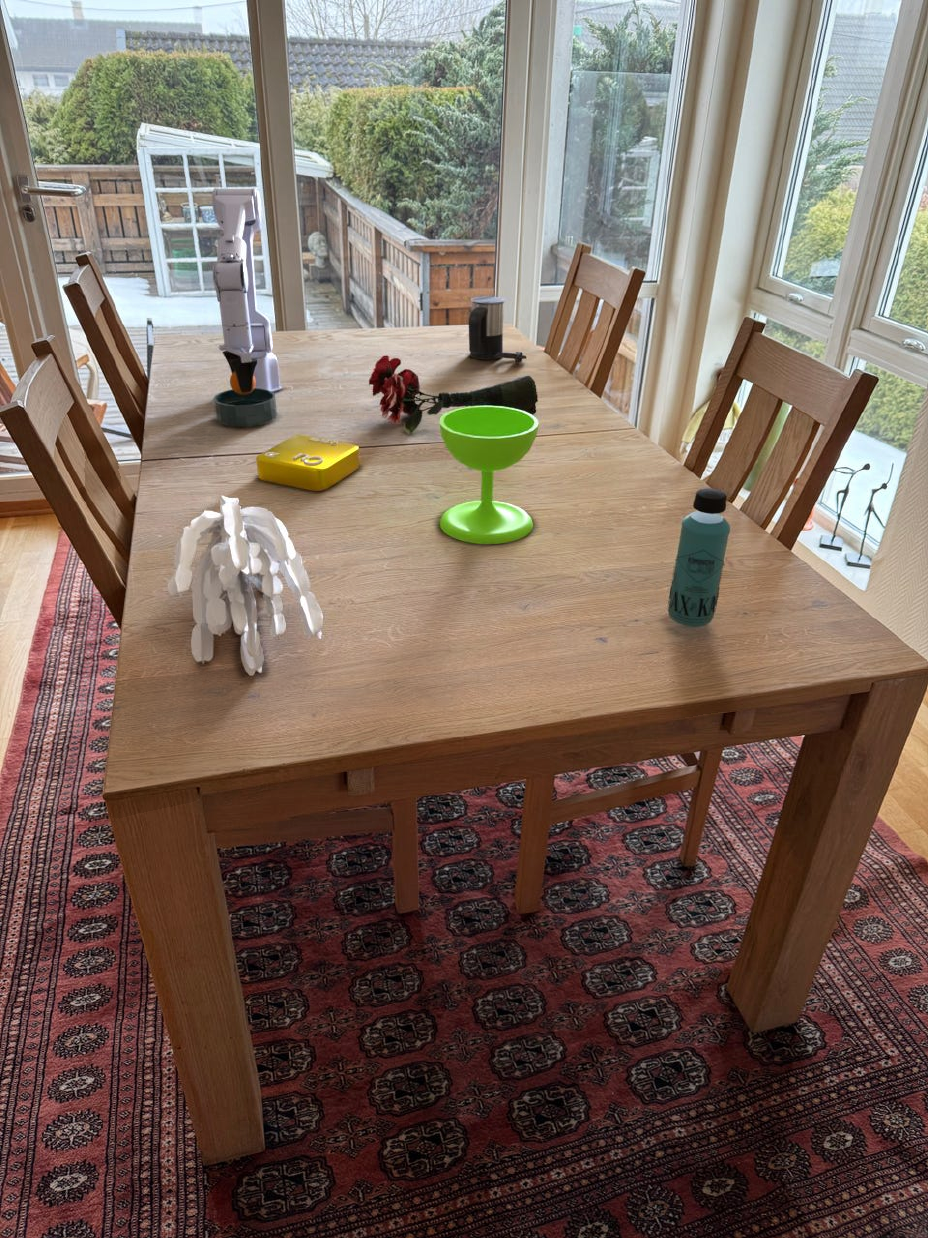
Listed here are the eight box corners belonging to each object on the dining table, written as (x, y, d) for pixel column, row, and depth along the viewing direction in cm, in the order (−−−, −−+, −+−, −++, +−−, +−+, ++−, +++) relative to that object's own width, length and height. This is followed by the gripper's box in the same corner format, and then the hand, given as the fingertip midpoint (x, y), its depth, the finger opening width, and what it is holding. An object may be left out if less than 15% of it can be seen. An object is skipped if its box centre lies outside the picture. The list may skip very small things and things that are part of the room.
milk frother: (472, 350, 252) (472, 294, 245) (529, 353, 250) (531, 296, 243) (465, 364, 240) (465, 306, 232) (524, 367, 238) (527, 308, 231)
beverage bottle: (659, 613, 130) (678, 482, 120) (705, 612, 131) (727, 481, 121) (672, 638, 125) (693, 502, 115) (720, 636, 125) (744, 501, 115)
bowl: (246, 406, 209) (243, 384, 206) (289, 416, 203) (287, 394, 200) (204, 421, 199) (200, 399, 197) (248, 432, 194) (245, 409, 191)
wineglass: (466, 551, 147) (467, 444, 137) (423, 514, 159) (422, 413, 149) (551, 532, 153) (557, 428, 144) (503, 498, 165) (507, 400, 156)
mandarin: (243, 389, 202) (240, 362, 199) (262, 393, 199) (259, 366, 196) (226, 395, 198) (222, 368, 195) (244, 399, 195) (241, 372, 192)
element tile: (363, 466, 178) (362, 442, 175) (321, 493, 166) (319, 468, 164) (298, 453, 183) (296, 430, 181) (253, 479, 172) (251, 455, 169)
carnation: (522, 447, 209) (373, 454, 199) (506, 377, 215) (359, 381, 204) (545, 409, 195) (386, 415, 185) (527, 336, 200) (371, 338, 190)
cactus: (147, 511, 136) (132, 627, 107) (244, 440, 134) (255, 539, 105) (223, 589, 145) (228, 716, 116) (314, 523, 143) (343, 636, 114)
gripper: (210, 317, 195) (218, 380, 202) (223, 332, 184) (231, 399, 191) (243, 314, 197) (250, 377, 204) (258, 329, 186) (265, 395, 193)
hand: (243, 387), depth 198 cm, fingers closed on mandarin, 5 cm apart
